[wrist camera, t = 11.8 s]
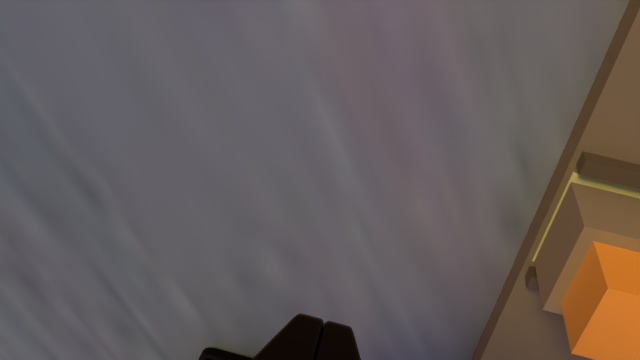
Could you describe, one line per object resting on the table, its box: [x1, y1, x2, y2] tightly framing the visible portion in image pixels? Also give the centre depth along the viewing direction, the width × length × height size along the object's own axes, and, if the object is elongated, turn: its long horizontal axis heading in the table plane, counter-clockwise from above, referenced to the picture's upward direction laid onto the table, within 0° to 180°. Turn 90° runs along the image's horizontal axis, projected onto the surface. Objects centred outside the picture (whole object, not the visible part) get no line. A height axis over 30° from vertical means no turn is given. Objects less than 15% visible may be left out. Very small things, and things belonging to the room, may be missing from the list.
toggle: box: [534, 182, 640, 360], centre depth 18 cm, size 3×3×4 cm
